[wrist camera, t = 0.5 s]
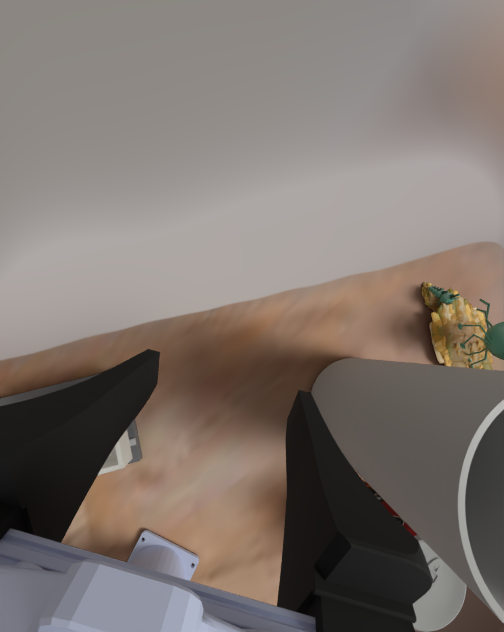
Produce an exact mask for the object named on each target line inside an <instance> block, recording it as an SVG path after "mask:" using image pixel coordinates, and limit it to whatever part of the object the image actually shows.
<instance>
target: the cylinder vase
mask: <svg viewBox="0 0 504 632" xmlns="http://www.w3.org/2000/svg"><path fill="white" fill-rule="evenodd" d="M311 394H312V396H313V398H314V400H315V402H316V404H317V407H318V409H319V411H320V413H321V415H322V417H323V419H324V421H325V423H326V425H327V427H328V429H329V431H330V432H331V434H332V436H333V438H334V440H335V441H336V443H337V445H338V446H339V448H340V450H341V451H342V453H343V454H344V456H345V457H346V459H347V460H348V462H349V463H350V464H351V466H352V467H353V468H354V469H355V471H356V472H357V473H358V474H359V475H360V476H361V477H362V478H363V479H364V480H365V481H366V482H367V483H368V484H369V485H370V486H371V487H372V488H373V489H374V490H375V491H376V492H377V493H378V494H379V495H380V496H381V497H382V498H383V499H384V500H385V501H386V502H387V504H388V505H389V506H390V507H391V508H392V509H393V510H394V511H395V512H396V513H397V514H398V515H399V516H400V517H401V518H402V519H403V520H404V521H405V522H406V523H407V524H408V525H409V526H410V527H411V528H412V529H413V530H414V531H415V532H416V533H417V534H418V535H419V537H420V538H421V539H422V540H423V541H424V542H425V543H426V544H427V545H428V546H429V547H430V548H431V549H432V550H433V551H434V552H435V553H436V554H437V555H438V556H439V557H440V558H441V559H442V560H443V561H444V562H445V563H446V564H447V565H448V566H449V567H450V568H451V570H452V571H453V572H454V573H455V574H456V575H457V576H458V577H459V578H460V579H461V580H462V581H463V582H464V583H465V584H466V585H467V586H468V587H469V588H470V589H471V590H472V591H473V592H474V593H475V594H476V595H477V596H478V597H479V598H480V599H481V600H482V601H483V602H484V604H485V605H486V606H487V607H488V608H489V609H490V610H491V611H492V612H493V613H494V614H495V615H496V616H497V617H498V618H499V619H500V620H501V621H502V622H503V623H504V371H498V370H487V369H475V368H464V367H452V366H441V365H429V364H418V363H406V362H395V361H383V360H372V359H360V358H347V359H342V360H339V361H336V362H334V363H332V364H330V365H329V366H328V367H326V368H325V369H324V370H323V371H322V372H321V373H320V374H319V376H318V377H317V379H316V381H315V383H314V385H313V387H312V391H311Z"/></svg>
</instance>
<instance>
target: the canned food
mask: <svg viewBox="0 0 504 632" xmlns="http://www.w3.org/2000/svg"><path fill="white" fill-rule="evenodd" d="M366 485H367V487H368V488H369V489H370V490H371V492H372V493H373V494H374V495H375V496H376V497H377V499H378V500H379V501H380V502H381V503H382V504H383V505H384V506H385V507H386V509H387V510H388V511H389V512H390V513H391V514H392V515H393V516H394V517H395V518H396V519H397V520H398V521H399V522H400V523H401V524H402V525H403V526H404V527H405V528H406V529H407V530H408V531H409V532H410V533H411V534H412V535H413V536H414V537H415V538H416V539H417V540H418V541H419V544H420V546H421V548H422V551H423V553H424V555H425V558H426V561H427V564H428V567H429V570H430V573H431V576H432V578H433V583H432V586H431V588H430V590H429V591H428V592H427V593H426V594H425V595H423V596H422V597H421V598H420V599H418V600H417V601H416V602H415V603H413V608H414V611H415V614H416V618H417V619H416V622H415V623H413V626H414V629H416V630H419V631H426V632H428V631H435V630H438V629H441V628H443V627H445V626H446V625H448V624H449V623H450V622H451V621H452V620H453V619H454V618H455V617H456V616H457V614H458V613H459V611H460V609H461V607H462V605H463V602H464V599H465V595H466V584H465V583H464V582H463V581H462V580H461V579H460V578H459V577H458V576H457V575H456V574H455V573H454V572H453V571H452V570H451V568H450V567H449V566H448V565H447V564H446V563H445V562H444V561H443V560H442V559H441V558H440V557H439V556H438V555H437V554H436V553H435V552H434V551H433V550H432V549H431V548H430V547H429V546H428V545H427V544H426V543H425V542H424V541H423V540H422V539H421V538H420V537H419V535H418V534H417V533H416V532H415V531H414V530H413V529H412V528H411V527H410V526H409V525H408V524H407V523H406V522H405V521H404V520H403V519H402V518H401V517H400V516H399V515H398V514H397V513H396V512H395V511H394V510H393V509H392V508H391V507H390V506H389V505H388V504H387V502H386V501H385V500H384V499H383V498H382V497H381V496H380V495H379V494H378V493H377V492H376V491H375V490H374V489H373V488H372V487H371V486H370V485H369V484H366Z"/></svg>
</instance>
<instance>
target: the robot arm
mask: <svg viewBox="0 0 504 632" xmlns="http://www.w3.org/2000/svg"><path fill="white" fill-rule="evenodd" d="M159 356H160V352H157V351H153V350H150V349H147V350H146V351H144V352H142V353H140V354H138V355H136V356H134V357H132V358H131V359H129V360H127V361H125V362H123V363H121V364H119V365H117V366H115V367H113V368H112V369H109V370H107V371H105V372H103V373H101V374H99V375H97V376H94V377H92V378H90V379H88V380H85V381H83V382H80V383H78V384H75V385H72V386H70V387H67V388H64V389H61V390H58V391H55V392H52V393H49V394H45V395H42V396H39V397H35V398H32V399H28V400H24V401H20V402H16V403H12V404H8V405H3V406H0V632H415V630H414V626H413V623H415V622H416V619H417V618H416V614H415V611H414V608H413V603H415V602H416V601H417V600H418V599H420V598H421V597H422V596H423V595H425V594H426V593H427V592H428V591H429V590H430V588H431V586H432V583H433V578H432V576H431V573H430V570H429V567H428V564H427V561H426V558H425V555H424V553H423V551H422V548H421V546H420V544H419V541H418V540H417V539H416V538H415V537H414V536H413V535H412V534H411V533H410V532H409V531H408V530H407V529H406V528H405V527H404V526H403V525H402V524H401V523H400V522H399V521H398V520H397V519H396V518H395V517H394V516H393V515H392V514H391V513H390V512H389V511H388V510H387V509H386V507H385V506H384V505H383V504H382V503H381V502H380V501H379V500H378V499H377V497H376V496H375V495H374V494H373V493H372V492H371V490H370V489H369V488H368V487H367V485H366V484H365V483H364V482H363V480H362V479H361V478H360V477H359V475H358V474H357V473H356V471H355V470H354V469H353V467H352V466H351V464H350V463H349V462H348V460H347V459H346V457H345V456H344V454H343V453H342V451H341V450H340V448H339V446H338V445H337V443H336V441H335V440H334V438H333V436H332V434H331V432H330V431H329V429H328V427H327V425H326V423H325V421H324V419H323V417H322V415H321V413H320V411H319V409H318V407H317V404H316V402H315V400H314V398H313V396H312V394H311V393H309V392H305V391H301V390H299V391H298V394H297V396H296V399H295V401H294V404H293V406H292V409H291V411H290V414H289V416H288V419H287V429H286V473H287V500H286V515H285V529H284V541H283V553H282V563H281V574H280V584H279V593H278V602H277V606H274V605H270V604H267V603H264V602H260V601H257V600H253V599H250V598H247V597H243V596H240V595H236V594H233V593H229V592H226V591H223V590H219V589H216V588H212V587H209V586H206V585H202V584H199V583H195V582H192V581H190V579H191V577H192V575H193V573H194V571H195V569H196V567H197V565H198V562H199V557H198V556H197V555H195V554H193V553H191V552H190V551H188V550H186V549H184V548H182V547H180V546H178V545H176V544H174V543H172V542H170V541H168V540H166V539H164V538H162V537H160V536H158V535H156V534H154V533H153V532H151V531H149V530H144V531H143V532H142V534H141V536H140V538H139V540H138V542H137V544H136V546H135V548H134V549H133V551H132V553H131V555H130V557H129V559H128V561H127V562H124V561H120V560H117V559H114V558H110V557H107V556H103V555H100V554H96V553H93V552H90V551H86V550H83V549H79V548H76V547H73V546H69V545H66V544H62V543H61V542H62V540H63V538H64V536H65V534H66V532H67V530H68V528H69V526H70V524H71V522H72V520H73V518H74V517H75V515H76V513H77V511H78V509H79V507H80V506H81V504H82V502H83V500H84V498H85V496H86V495H87V493H88V491H89V489H90V487H91V486H92V484H93V482H94V480H95V479H96V477H97V475H98V473H99V472H100V470H101V468H102V466H103V465H104V463H105V461H106V460H107V458H108V456H109V455H110V453H111V451H112V450H113V448H114V447H115V445H116V444H117V442H118V441H119V439H120V438H121V436H122V435H123V434H124V432H125V431H126V430H127V428H128V427H129V426H130V424H131V423H132V422H133V420H134V419H135V417H136V416H137V415H138V413H139V412H140V411H141V409H142V408H143V407H144V405H145V404H146V402H147V401H148V399H149V397H150V396H151V394H152V392H153V390H154V389H155V387H156V385H157V381H158V368H159ZM142 538H145V540H143V539H142ZM192 563H194V564H195V565H192Z"/></svg>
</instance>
